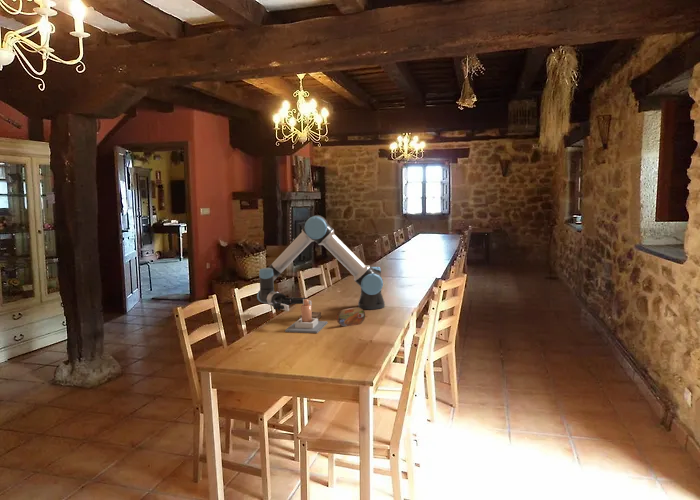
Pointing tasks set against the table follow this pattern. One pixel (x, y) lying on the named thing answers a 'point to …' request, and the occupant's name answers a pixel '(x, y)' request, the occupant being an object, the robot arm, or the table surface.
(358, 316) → the tin
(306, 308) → the bottle
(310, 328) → the holder
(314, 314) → the block
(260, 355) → the table surface
